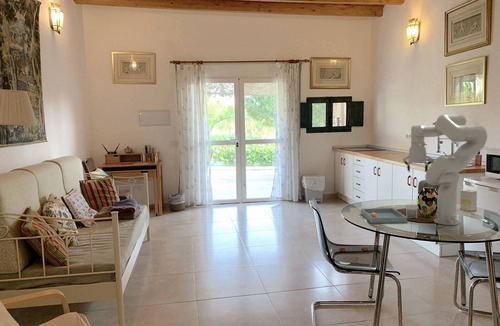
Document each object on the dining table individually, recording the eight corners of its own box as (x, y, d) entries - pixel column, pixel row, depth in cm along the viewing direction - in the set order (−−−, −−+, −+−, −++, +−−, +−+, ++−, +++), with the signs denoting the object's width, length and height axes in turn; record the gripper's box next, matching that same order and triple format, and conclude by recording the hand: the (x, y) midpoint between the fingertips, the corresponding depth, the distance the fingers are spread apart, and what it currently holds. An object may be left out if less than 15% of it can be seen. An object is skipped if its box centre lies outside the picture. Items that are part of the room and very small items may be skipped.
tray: (407, 223, 203) (407, 217, 203) (371, 223, 205) (371, 217, 204) (392, 213, 227) (392, 208, 227) (361, 214, 228) (361, 208, 228)
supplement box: (477, 211, 225) (477, 190, 224) (471, 212, 223) (472, 191, 222) (464, 208, 233) (465, 189, 232) (459, 209, 231) (460, 189, 230)
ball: (374, 217, 216) (376, 212, 215) (376, 219, 212) (378, 214, 212) (368, 216, 215) (370, 211, 215) (371, 218, 212) (373, 212, 211)
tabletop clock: (438, 204, 247) (438, 169, 245) (445, 207, 238) (446, 170, 236) (417, 205, 248) (418, 169, 245) (424, 208, 238) (424, 171, 236)
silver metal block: (417, 219, 212) (417, 209, 211) (406, 218, 214) (406, 208, 214) (416, 214, 223) (416, 205, 222) (405, 213, 225) (406, 204, 225)
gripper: (432, 144, 224) (432, 171, 226) (402, 144, 231) (402, 170, 233) (433, 145, 217) (433, 172, 219) (402, 145, 224) (402, 172, 226)
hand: (417, 171), depth 226 cm, fingers open, 9 cm apart
